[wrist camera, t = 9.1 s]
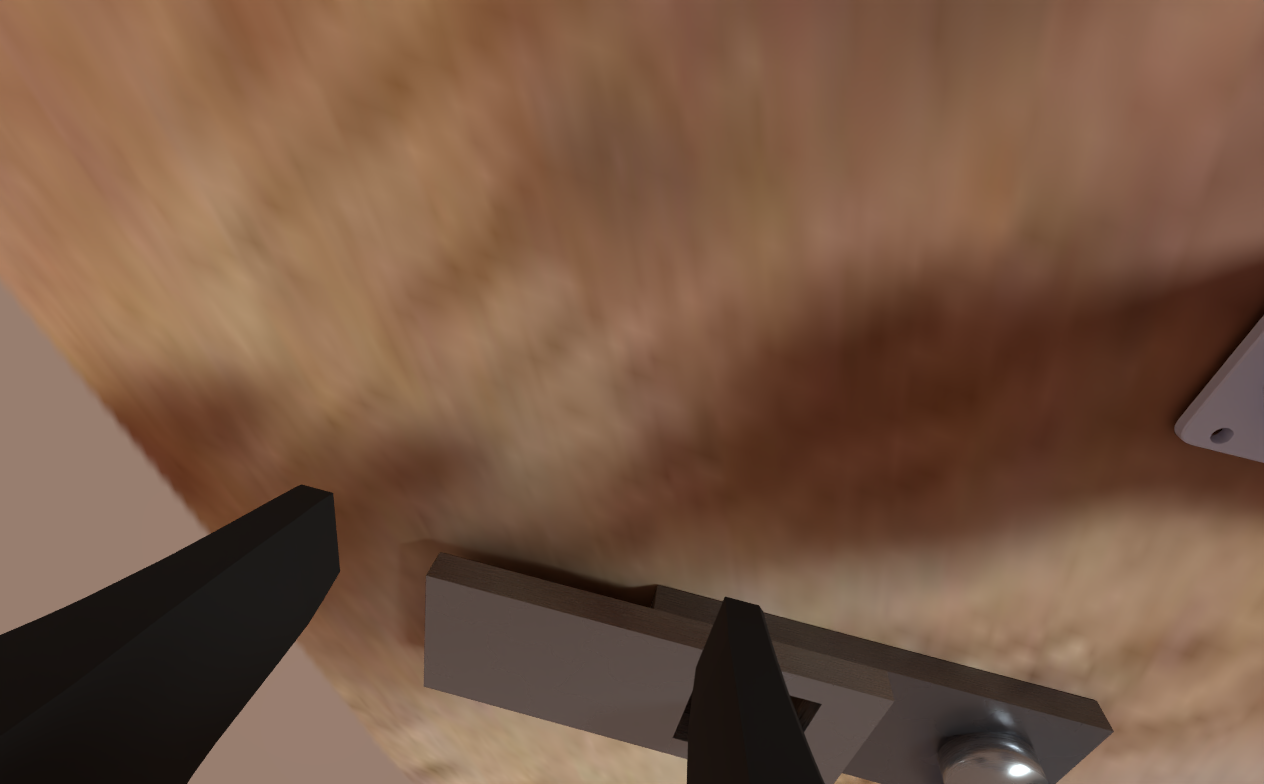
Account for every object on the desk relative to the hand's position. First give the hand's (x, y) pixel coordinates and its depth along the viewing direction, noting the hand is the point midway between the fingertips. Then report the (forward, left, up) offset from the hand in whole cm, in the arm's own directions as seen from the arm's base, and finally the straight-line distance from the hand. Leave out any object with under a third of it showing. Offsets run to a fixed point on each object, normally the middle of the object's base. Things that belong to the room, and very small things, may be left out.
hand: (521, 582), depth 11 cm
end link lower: (-12, +13, -9) cm, 20 cm away
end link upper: (-4, +13, -9) cm, 16 cm away
